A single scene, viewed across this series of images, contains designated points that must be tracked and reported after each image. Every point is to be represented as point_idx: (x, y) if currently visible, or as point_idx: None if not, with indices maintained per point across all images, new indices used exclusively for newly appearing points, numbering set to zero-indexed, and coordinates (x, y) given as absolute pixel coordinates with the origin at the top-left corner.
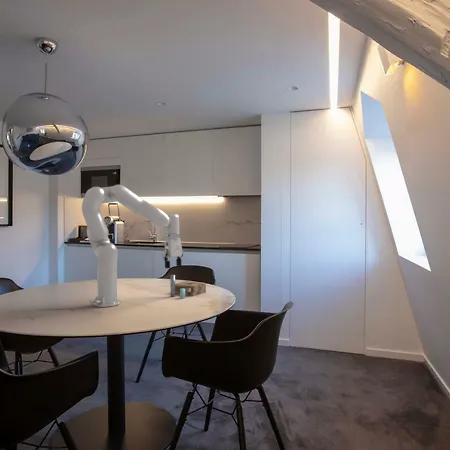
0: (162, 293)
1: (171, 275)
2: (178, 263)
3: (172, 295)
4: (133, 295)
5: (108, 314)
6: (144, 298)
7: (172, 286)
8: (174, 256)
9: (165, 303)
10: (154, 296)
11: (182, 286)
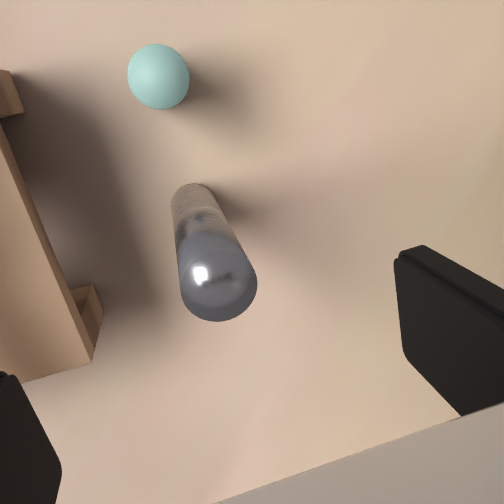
0: (176, 384)
1: (252, 275)
2: (23, 466)
3: (211, 193)
4: (371, 440)
5: None
6: (384, 311)
7: (222, 214)
8: (484, 410)
9: (398, 27)
10: (291, 325)
11: (47, 242)
